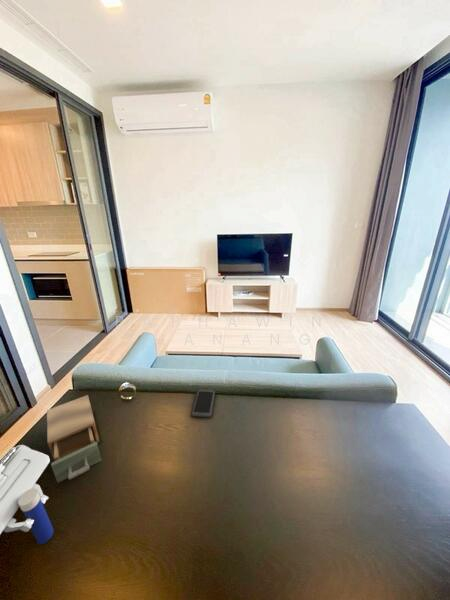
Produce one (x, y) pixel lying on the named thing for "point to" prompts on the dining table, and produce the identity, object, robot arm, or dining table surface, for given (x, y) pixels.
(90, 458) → the drawer
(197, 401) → the cell phone
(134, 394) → the ring
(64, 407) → the cabinet
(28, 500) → the disc
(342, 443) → the dining table surface
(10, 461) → the robot arm
